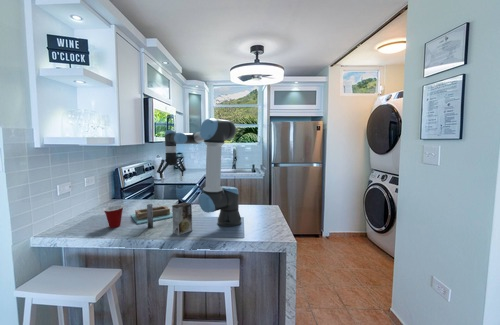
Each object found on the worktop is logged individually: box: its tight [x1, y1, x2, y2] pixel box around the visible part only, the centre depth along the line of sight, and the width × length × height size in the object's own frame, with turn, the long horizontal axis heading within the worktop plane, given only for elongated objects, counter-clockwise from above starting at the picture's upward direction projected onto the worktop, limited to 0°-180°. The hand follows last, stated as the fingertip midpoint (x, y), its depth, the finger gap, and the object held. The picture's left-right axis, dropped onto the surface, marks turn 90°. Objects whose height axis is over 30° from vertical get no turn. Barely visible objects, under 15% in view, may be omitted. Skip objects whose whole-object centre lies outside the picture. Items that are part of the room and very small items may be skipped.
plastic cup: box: [102, 204, 124, 229], centre depth 144 cm, size 11×11×12 cm
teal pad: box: [130, 211, 173, 225], centre depth 163 cm, size 20×24×1 cm
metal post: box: [146, 203, 154, 229], centre depth 142 cm, size 3×3×14 cm
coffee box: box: [171, 201, 193, 236], centre depth 135 cm, size 9×6×16 cm
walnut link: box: [134, 205, 171, 220], centre depth 163 cm, size 10×20×4 cm, turn 127°
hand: (172, 181), depth 170 cm, fingers open, 13 cm apart
